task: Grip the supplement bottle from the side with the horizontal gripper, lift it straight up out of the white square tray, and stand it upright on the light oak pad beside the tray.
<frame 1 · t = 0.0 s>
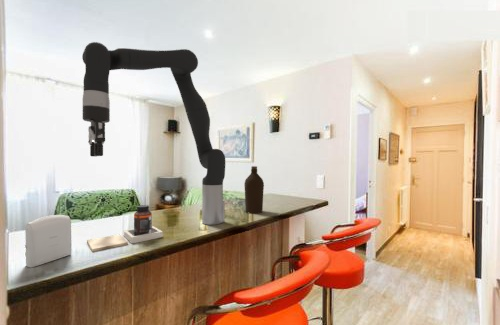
hand: (96, 156, 79), 29 cm above the counter, tool pointing down, fingers open, 8 cm apart
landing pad: (107, 243, 81), on the counter
white square tray: (142, 236, 89), on the counter
olive oil: (254, 212, 133), on the counter
supplement bottle: (142, 237, 89), resting in white square tray
photo printer: (49, 260, 67), on the counter
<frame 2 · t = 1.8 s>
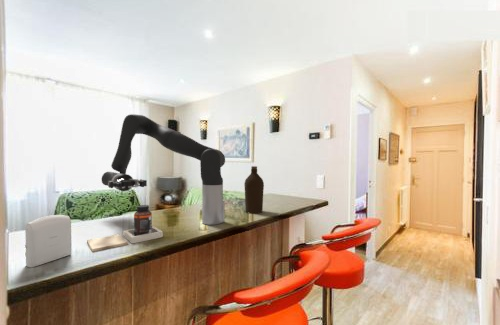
hand: (132, 185, 98), 18 cm above the counter, tool horizontal, fingers open, 8 cm apart
nothing on the counter moved.
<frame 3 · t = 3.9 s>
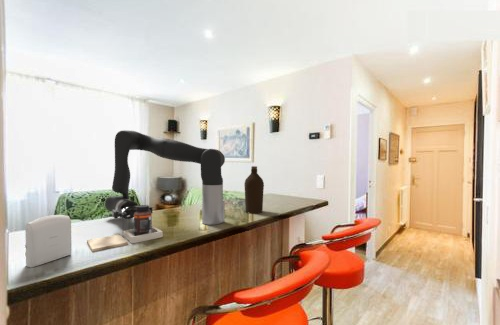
hand: (138, 214, 93), 7 cm above the counter, tool horizontal, fingers open, 8 cm apart
nothing on the counter moved.
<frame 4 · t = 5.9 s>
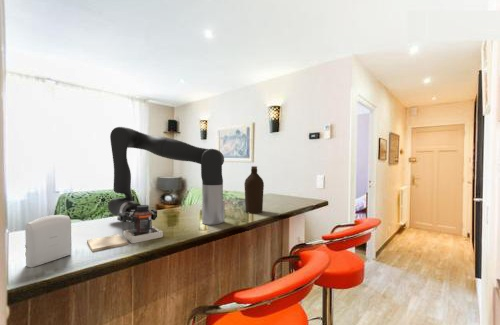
hand: (145, 218, 87), 7 cm above the counter, tool horizontal, fingers closed on supplement bottle, 6 cm apart
supplement bottle: (142, 237, 89), resting in white square tray, touching gripper
everything else where it was.
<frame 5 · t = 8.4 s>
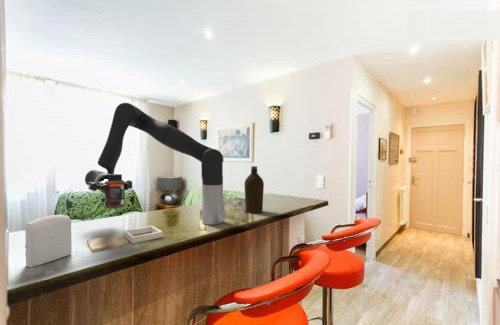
hand: (116, 187, 81), 19 cm above the counter, tool horizontal, fingers closed on supplement bottle, 6 cm apart
supplement bottle: (115, 207, 83), point 12 cm above the counter, touching gripper
everything else where it was.
when the fingers open (9 cm above the counter, at t = 11.0 s): supplement bottle drops 1 cm, resting on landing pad.
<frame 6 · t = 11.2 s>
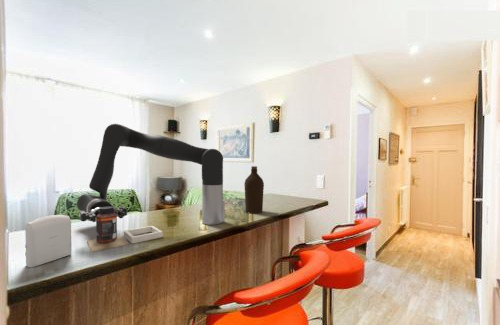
hand: (108, 217, 79), 9 cm above the counter, tool horizontal, fingers open, 7 cm apart
supplement bottle: (106, 241, 81), point 1 cm above the counter, touching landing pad
everything else where it was.
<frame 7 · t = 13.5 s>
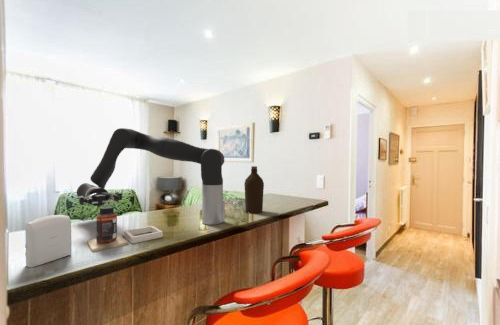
hand: (104, 200, 90), 13 cm above the counter, tool horizontal, fingers open, 8 cm apart
nothing on the counter moved.
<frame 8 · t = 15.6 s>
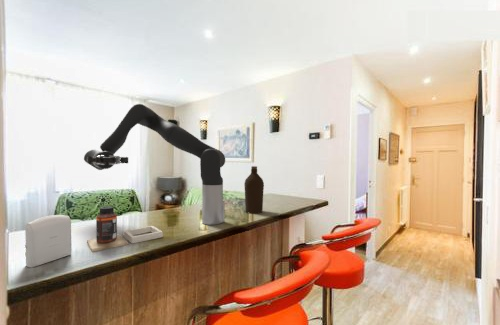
hand: (111, 160, 93), 28 cm above the counter, tool horizontal, fingers open, 8 cm apart
nothing on the counter moved.
at the end: supplement bottle inside the target area on the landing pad (0.2 cm from its centre), point 0.6 cm above the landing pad's base; supplement bottle tilted 0°; the gripper is holding nothing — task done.
